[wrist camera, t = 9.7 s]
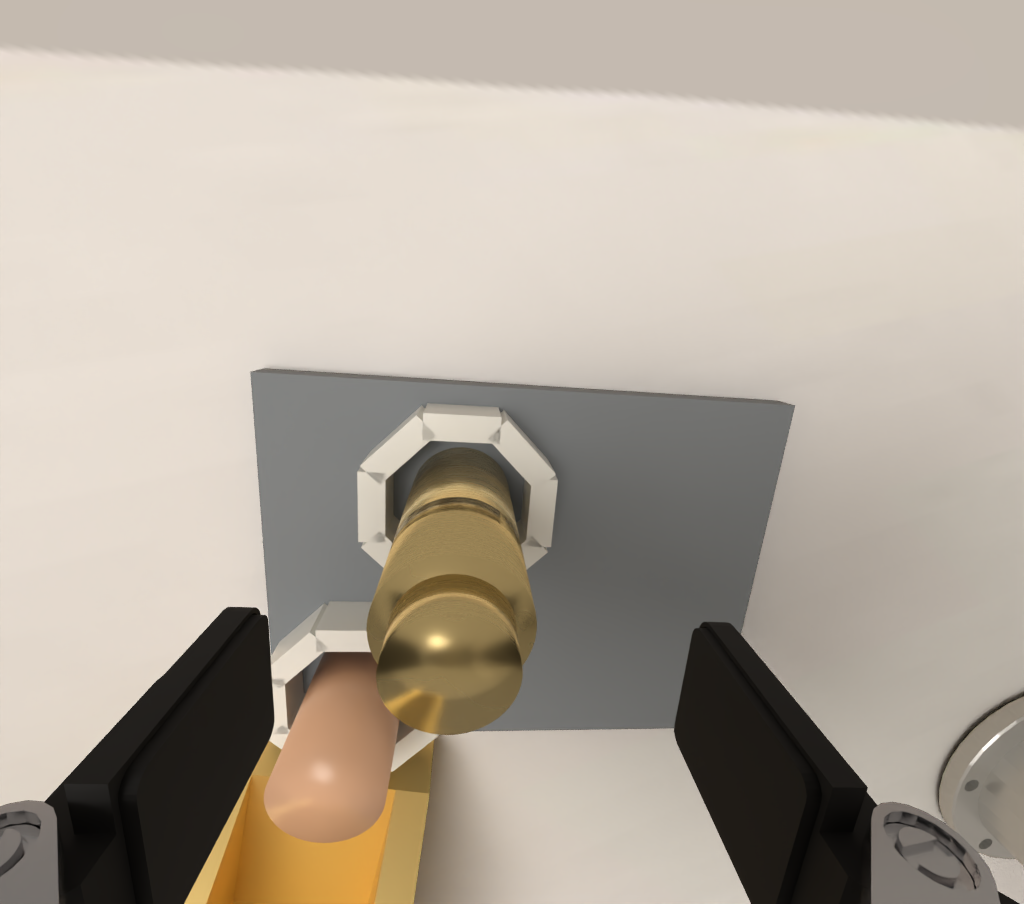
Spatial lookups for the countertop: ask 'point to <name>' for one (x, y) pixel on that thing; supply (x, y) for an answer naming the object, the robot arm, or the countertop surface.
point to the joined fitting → (332, 730)
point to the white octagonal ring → (455, 427)
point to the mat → (576, 528)
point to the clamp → (319, 849)
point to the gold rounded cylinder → (453, 600)
